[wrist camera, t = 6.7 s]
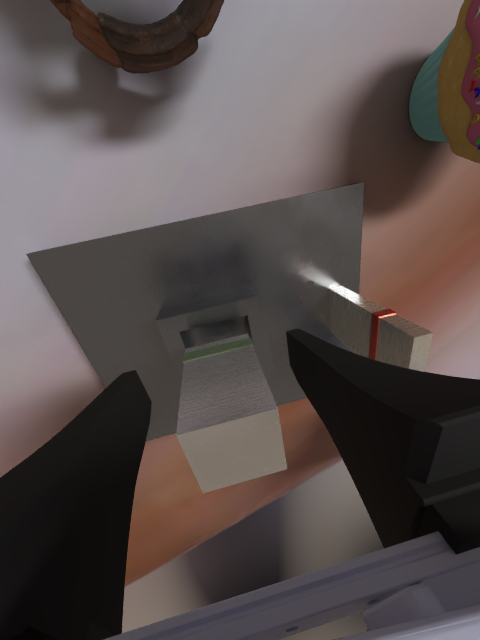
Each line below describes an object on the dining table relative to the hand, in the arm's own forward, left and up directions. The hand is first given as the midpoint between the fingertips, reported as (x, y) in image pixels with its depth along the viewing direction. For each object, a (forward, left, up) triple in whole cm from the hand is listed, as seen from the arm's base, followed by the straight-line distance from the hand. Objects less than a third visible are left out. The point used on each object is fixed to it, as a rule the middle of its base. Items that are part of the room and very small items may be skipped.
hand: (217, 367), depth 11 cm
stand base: (-3, 0, -8) cm, 9 cm away
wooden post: (-3, 0, -4) cm, 4 cm away
